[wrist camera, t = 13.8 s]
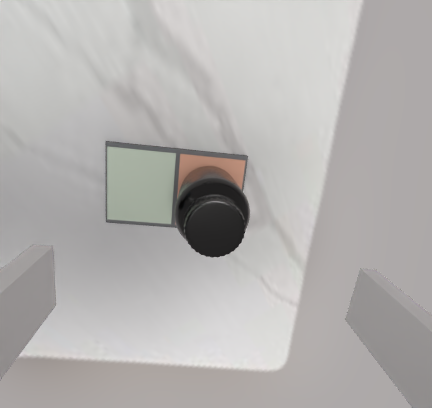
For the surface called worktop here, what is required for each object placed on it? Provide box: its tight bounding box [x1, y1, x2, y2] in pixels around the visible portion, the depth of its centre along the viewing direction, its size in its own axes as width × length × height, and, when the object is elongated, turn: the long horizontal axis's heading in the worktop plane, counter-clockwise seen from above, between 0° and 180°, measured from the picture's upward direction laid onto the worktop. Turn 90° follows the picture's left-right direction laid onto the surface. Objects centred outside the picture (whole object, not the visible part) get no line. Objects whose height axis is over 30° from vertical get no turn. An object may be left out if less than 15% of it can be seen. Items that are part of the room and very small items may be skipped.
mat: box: [106, 141, 248, 228], centre depth 33 cm, size 16×10×1 cm, turn 84°
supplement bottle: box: [175, 166, 250, 257], centre depth 27 cm, size 7×7×12 cm
